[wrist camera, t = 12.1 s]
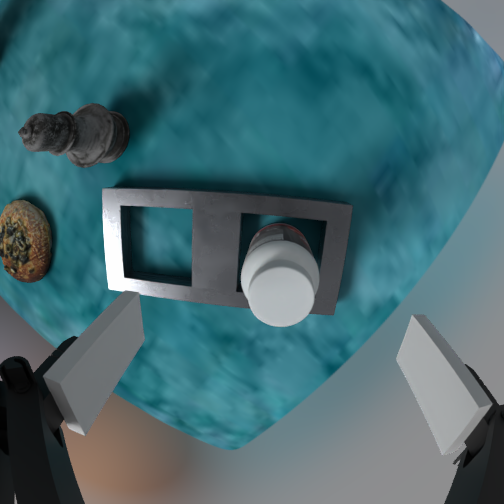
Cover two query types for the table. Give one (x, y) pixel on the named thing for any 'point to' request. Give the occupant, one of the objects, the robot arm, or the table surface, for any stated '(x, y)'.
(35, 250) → the bread roll
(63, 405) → the robot arm
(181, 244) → the table surface
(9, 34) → the table surface
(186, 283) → the grey rectangular frame
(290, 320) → the pill bottle
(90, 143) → the grey chess piece
